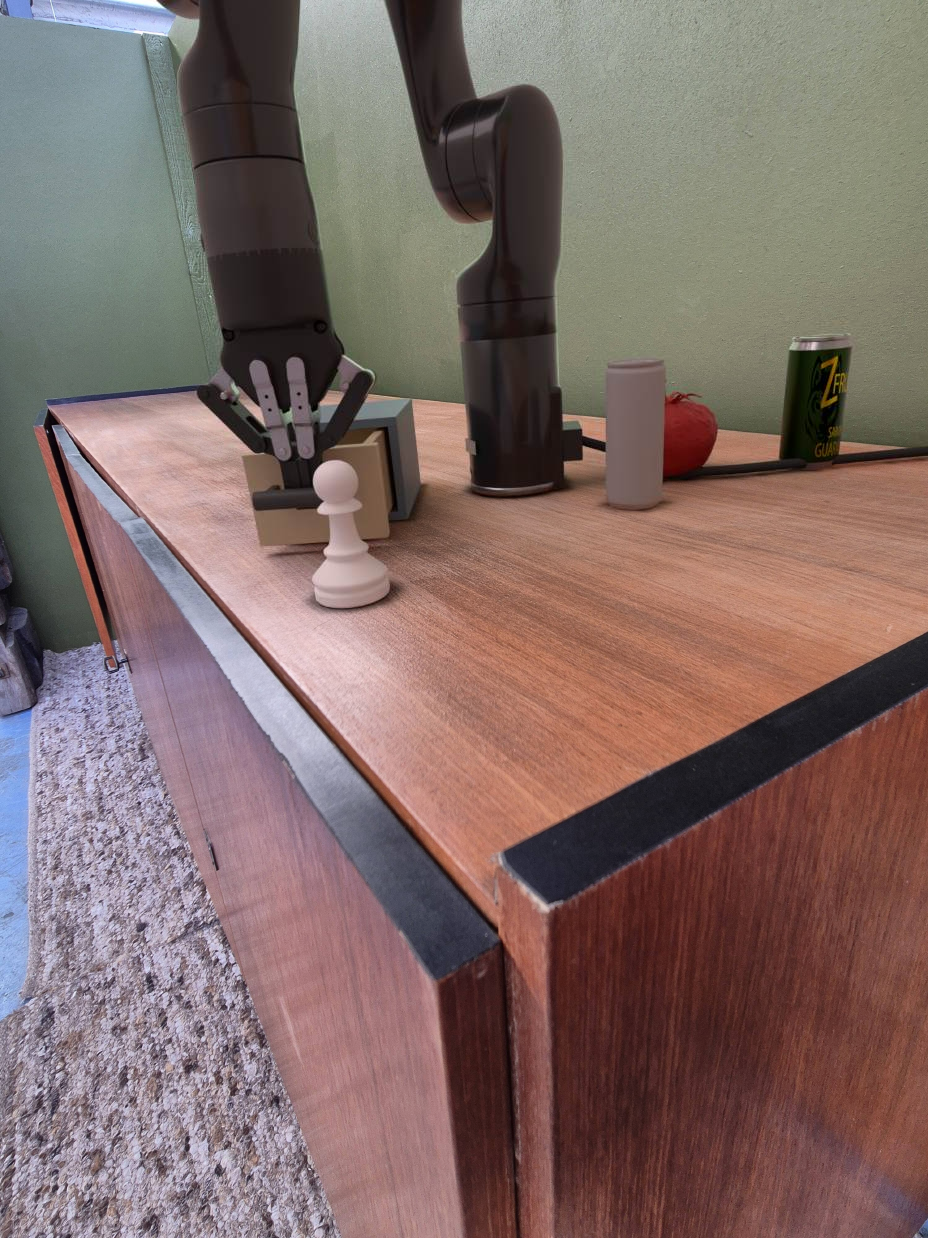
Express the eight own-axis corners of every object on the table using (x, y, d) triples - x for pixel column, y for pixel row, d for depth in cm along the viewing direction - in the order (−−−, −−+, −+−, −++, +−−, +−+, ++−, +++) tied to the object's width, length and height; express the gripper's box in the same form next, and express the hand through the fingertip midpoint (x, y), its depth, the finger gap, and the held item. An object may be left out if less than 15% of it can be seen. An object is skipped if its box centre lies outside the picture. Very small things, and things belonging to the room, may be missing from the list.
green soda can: (767, 466, 72) (777, 339, 67) (797, 457, 74) (810, 333, 70) (818, 473, 68) (833, 337, 63) (848, 462, 70) (865, 332, 66)
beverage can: (663, 510, 60) (667, 360, 56) (605, 511, 61) (604, 365, 57) (660, 496, 65) (664, 355, 60) (606, 497, 66) (606, 360, 61)
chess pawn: (337, 615, 45) (313, 473, 41) (303, 596, 48) (278, 463, 45) (404, 593, 47) (387, 457, 44) (367, 576, 51) (348, 450, 48)
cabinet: (407, 519, 64) (395, 416, 61) (282, 528, 65) (263, 427, 62) (421, 485, 77) (411, 398, 73) (315, 493, 78) (301, 407, 74)
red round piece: (723, 481, 68) (730, 379, 64) (616, 487, 69) (616, 386, 65) (705, 460, 77) (710, 369, 73) (610, 465, 78) (610, 376, 74)
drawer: (380, 555, 52) (366, 456, 49) (242, 565, 53) (220, 467, 50) (405, 499, 68) (395, 420, 65) (298, 507, 69) (284, 429, 66)
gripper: (373, 244, 50) (401, 489, 57) (189, 262, 51) (239, 500, 58) (353, 234, 43) (389, 514, 50) (141, 254, 44) (205, 527, 51)
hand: (308, 506), depth 54 cm, fingers closed
